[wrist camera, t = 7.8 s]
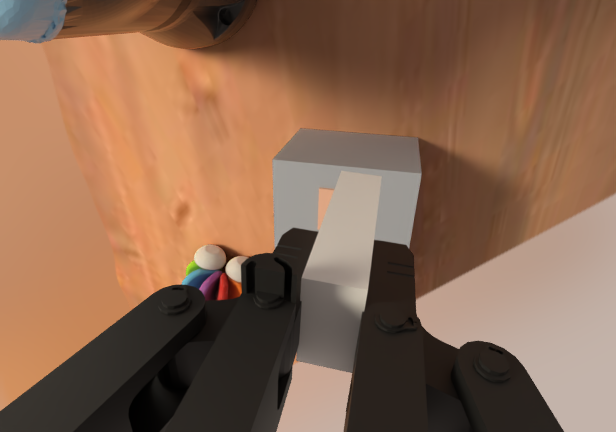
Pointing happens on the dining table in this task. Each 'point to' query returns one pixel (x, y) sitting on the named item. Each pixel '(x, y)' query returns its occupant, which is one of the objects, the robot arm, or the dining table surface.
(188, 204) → the dining table surface
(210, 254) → the rainbow disc toy
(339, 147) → the socket block
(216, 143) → the dining table surface
